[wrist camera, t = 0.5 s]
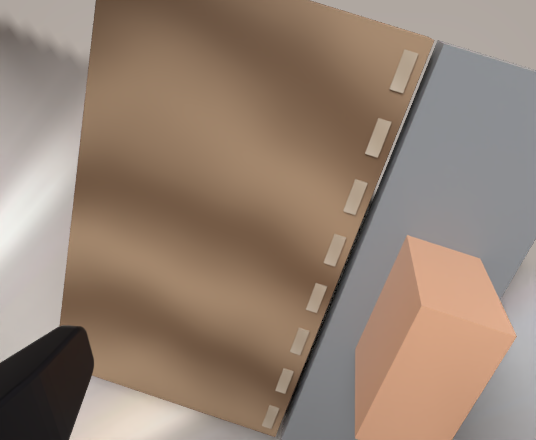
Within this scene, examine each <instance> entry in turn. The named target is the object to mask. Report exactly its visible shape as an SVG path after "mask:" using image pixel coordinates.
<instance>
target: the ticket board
mask: <svg viewBox="0 0 536 440" xmlns="http://www.w3.org/2000/svg"><path fill="white" fill-rule="evenodd" d="M433 43H434V40H433V39H431V38H429V37H426V36H424V35H420V34H417V33H414V32H411V31H407V30H404V29H401V28H398V27H394V26H391V25H388V24H385V23H382V22H378V21H375V20H371V19H369V18H365V17H362V16H359V15H356V14H352V13H349V12H346V11H343V10H339V9H336V8H333V7H329V6H326V5H323V4H320V3H317V2H313V1H310V0H96V5H95V14H94V23H93V32H92V41H91V49H90V58H89V67H88V76H87V85H86V94H85V103H84V112H83V121H82V130H81V139H80V148H79V157H78V166H77V175H76V184H75V193H74V202H73V211H72V220H71V229H70V238H69V247H68V255H67V264H66V273H65V282H64V291H63V300H62V309H61V318H60V326H62V325H73V326H81V327H84V328H85V330H86V332H87V335H88V339H89V342H90V346H91V350H92V354H93V357H94V369H93V373H92V375H93V376H95V377H98V378H101V379H104V380H107V381H110V382H113V383H116V384H119V385H122V386H125V387H128V388H131V389H134V390H137V391H140V392H143V393H146V394H149V395H152V396H155V397H158V398H161V399H164V400H167V401H170V402H173V403H176V404H179V405H181V406H184V407H187V408H190V409H193V410H196V411H199V412H202V413H205V414H208V415H211V416H214V417H217V418H220V419H223V420H226V421H229V422H232V423H235V424H238V425H241V426H244V427H247V428H250V429H253V430H256V431H259V432H262V433H265V434H268V435H270V436H273V437H275V436H276V434H277V431H278V429H279V426H280V424H281V421H282V419H283V416H284V414H285V411H286V409H287V406H288V404H289V401H290V399H291V397H292V394H293V392H294V389H295V387H296V384H297V382H298V379H299V377H300V374H301V372H302V369H303V367H304V364H305V362H306V359H307V357H308V354H309V352H310V349H311V347H312V344H313V342H314V339H315V337H316V334H317V332H318V329H319V327H320V324H321V322H322V319H323V317H324V314H325V312H326V309H327V307H328V304H329V302H330V299H331V297H332V294H333V292H334V289H335V287H336V284H337V282H338V279H339V277H340V274H341V272H342V269H343V267H344V264H345V262H346V259H347V257H348V254H349V252H350V249H351V247H352V245H353V242H354V240H355V237H356V235H357V232H358V230H359V227H360V225H361V222H362V220H363V217H364V215H365V212H366V210H367V207H368V205H369V202H370V200H371V197H372V195H373V192H374V190H375V187H376V184H377V182H378V180H379V177H380V175H381V172H382V170H383V167H384V165H385V162H386V160H387V157H388V155H389V152H390V150H391V147H392V145H393V142H394V140H395V137H396V135H397V132H398V130H399V127H400V125H401V122H402V120H403V117H404V115H405V112H406V110H407V107H408V105H409V102H410V100H411V97H412V95H413V92H414V90H415V88H416V85H417V83H418V80H419V77H420V75H421V72H422V70H423V68H424V65H425V63H426V60H427V57H428V55H429V52H430V50H431V47H432V45H433Z"/></svg>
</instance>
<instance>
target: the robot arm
mask: <svg viewBox="0 0 536 440" xmlns="http://www.w3.org/2000/svg"><path fill="white" fill-rule="evenodd" d="M93 369H94V357H93V354H92V350H91V346H90V342H89V339H88V335H87V332H86V330H85V328H84V327H81V326H73V325H62V326H59V327H57V328H56V329H54V330H53V331H51V332H49V333H48V334H46V335H44V336H43V337H41V338H40V339H38V340H36V341H35V342H33V343H31V344H30V345H28V346H27V347H25V348H23V349H22V350H20V351H19V352H17V353H15V354H14V355H12V356H10V357H9V358H7V359H6V360H4V361H2V362H1V363H0V440H69V438H70V435H71V433H72V430H73V427H74V424H75V421H76V419H77V416H78V413H79V410H80V407H81V404H82V402H83V399H84V396H85V393H86V390H87V388H88V385H89V382H90V379H91V376H92V373H93Z"/></svg>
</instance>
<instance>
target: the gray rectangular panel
mask: <svg viewBox="0 0 536 440" xmlns="http://www.w3.org/2000/svg"><path fill="white" fill-rule="evenodd" d="M535 239H536V70H533V69H529V68H526V67H523V66H520V65H516V64H513V63H510V62H507V61H504V60H500V59H497V58H494V57H491V56H487V55H484V54H481V53H478V52H474V51H471V50H468V49H465V48H462V47H458V46H455V45H452V44H449V43H445V42H442V41H439V40H438V41H437V44H436V46H435V48H434V51H433V53H432V56H431V58H430V61H429V63H428V66H427V68H426V71H425V73H424V75H423V78H422V81H421V83H420V86H419V88H418V90H417V93H416V96H415V98H414V101H413V103H412V105H411V108H410V110H409V113H408V115H407V118H406V120H405V123H404V125H403V127H402V130H401V132H400V135H399V138H398V140H397V142H396V145H395V147H394V150H393V152H392V155H391V157H390V160H389V162H388V165H387V167H386V170H385V172H384V174H383V177H382V179H381V182H380V184H379V187H378V189H377V192H376V194H375V197H374V199H373V202H372V204H371V207H370V209H369V212H368V214H367V217H366V219H365V222H364V224H363V226H362V229H361V231H360V234H359V236H358V239H357V241H356V244H355V246H354V249H353V251H352V254H351V256H350V259H349V261H348V264H347V266H346V269H345V271H344V273H343V276H342V278H341V281H340V283H339V286H338V288H337V291H336V293H335V296H334V298H333V301H332V303H331V306H330V308H329V311H328V313H327V316H326V318H325V320H324V323H323V325H322V328H321V330H320V333H319V335H318V338H317V340H316V343H315V345H314V348H313V350H312V353H311V355H310V358H309V360H308V363H307V365H306V368H305V370H304V372H303V375H302V377H301V380H300V382H299V385H298V387H297V390H296V392H295V395H294V397H293V400H292V402H291V405H290V407H289V410H288V412H287V415H286V417H285V419H284V423H283V429H282V435H281V440H452V439H453V437H454V436H455V434H456V432H457V431H458V429H459V428H460V426H461V424H462V423H463V421H464V420H465V418H466V417H467V415H468V413H469V412H470V410H471V409H472V407H473V405H474V404H475V402H476V401H477V399H478V397H479V396H480V394H481V393H482V391H483V389H484V388H485V386H486V385H487V383H488V381H489V380H490V378H491V377H492V375H493V374H494V372H495V370H496V369H497V367H498V366H499V364H500V362H501V361H502V359H503V358H504V356H505V354H506V353H507V351H508V350H509V348H510V346H511V345H512V343H513V342H514V340H515V338H516V337H517V336H516V334H515V332H514V329H513V327H512V325H511V323H510V321H509V319H508V317H507V314H506V312H505V310H504V308H503V306H502V304H501V302H500V299H501V297H502V296H503V294H504V292H505V290H506V289H507V287H508V285H509V284H510V282H511V280H512V278H513V277H514V275H515V273H516V272H517V270H518V268H519V267H520V265H521V263H522V261H523V260H524V258H525V256H526V255H527V253H528V251H529V249H530V248H531V246H532V244H533V243H534V241H535Z"/></svg>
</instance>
